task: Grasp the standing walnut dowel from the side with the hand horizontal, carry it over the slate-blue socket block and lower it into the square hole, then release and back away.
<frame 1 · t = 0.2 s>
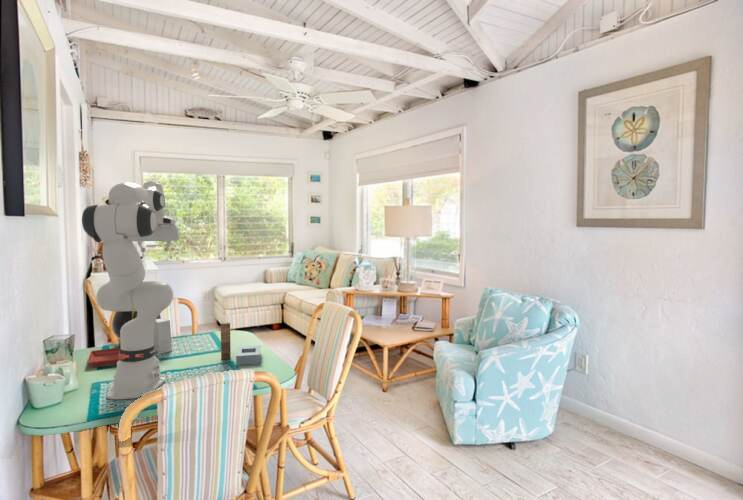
hand: (154, 251, 199), 48 cm above the table, tool pointing down, fingers open, 8 cm apart
skincare box: (162, 351, 213), on the table
amphora vase: (137, 344, 223), on the table
plant saucer: (113, 361, 199), on the table
socket block: (248, 359, 202), on the table
walnut dowel: (225, 358, 203), on the table
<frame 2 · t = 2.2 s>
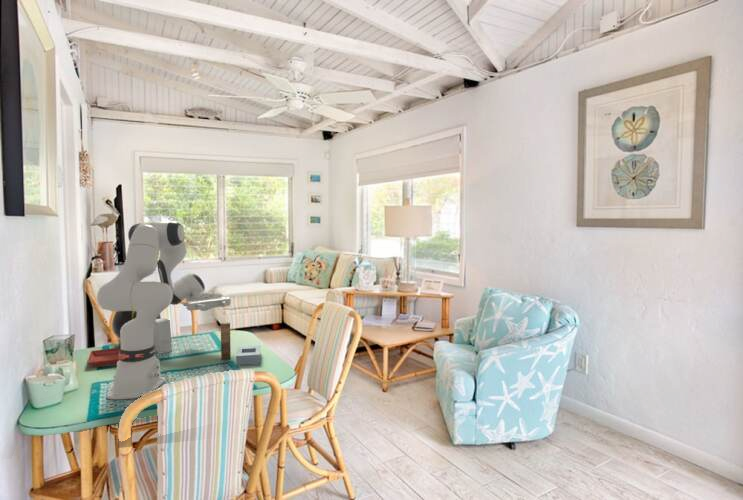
hand: (214, 306, 210), 22 cm above the table, tool horizontal, fingers open, 8 cm apart
nothing on the table moved.
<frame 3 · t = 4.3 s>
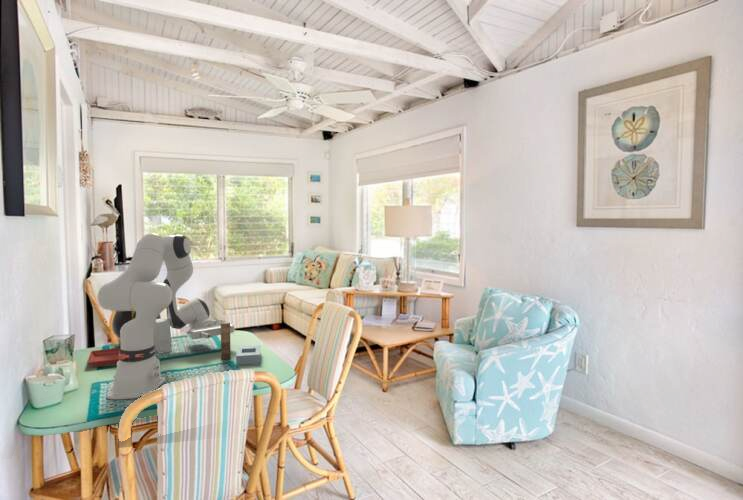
hand: (218, 334, 208), 9 cm above the table, tool horizontal, fingers open, 8 cm apart
nothing on the table moved.
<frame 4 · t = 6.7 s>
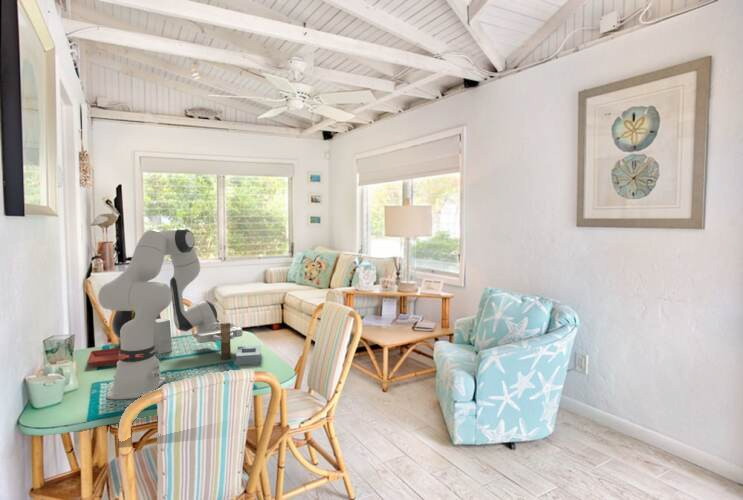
hand: (226, 338, 201), 10 cm above the table, tool horizontal, fingers closed on walnut dowel, 4 cm apart
walnut dowel: (225, 358, 203), on the table, touching gripper
everything else where it was.
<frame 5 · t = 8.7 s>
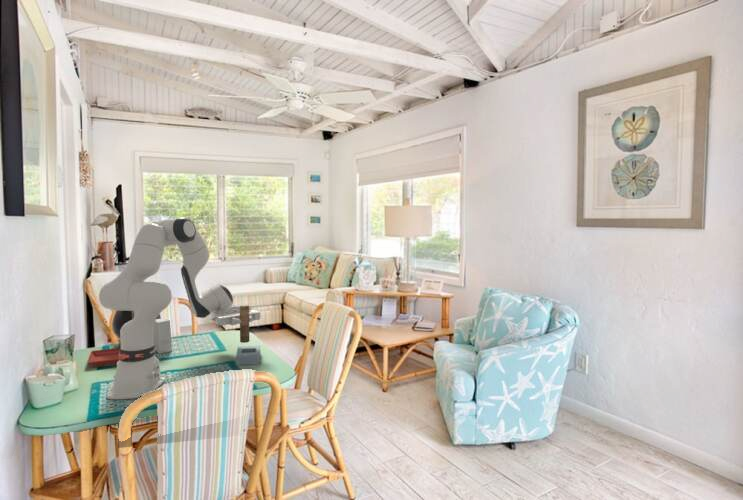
hand: (245, 320, 200), 18 cm above the table, tool horizontal, fingers closed on walnut dowel, 4 cm apart
walnut dowel: (244, 341, 202), point 8 cm above the table, touching gripper
everything else where it was.
when the fingers open (11 cm above the table, at t = 10.8 s): walnut dowel drops 2 cm, resting in socket block.
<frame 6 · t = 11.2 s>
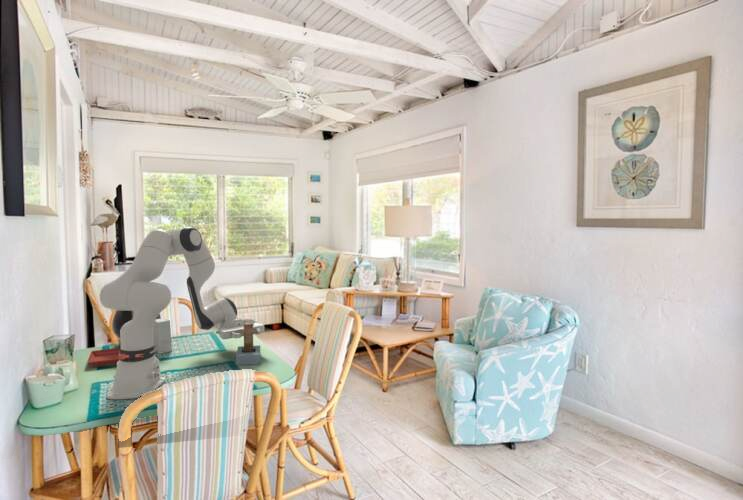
hand: (249, 334, 200), 11 cm above the table, tool horizontal, fingers open, 8 cm apart
walnut dowel: (248, 359, 202), resting in socket block
everything else where it was.
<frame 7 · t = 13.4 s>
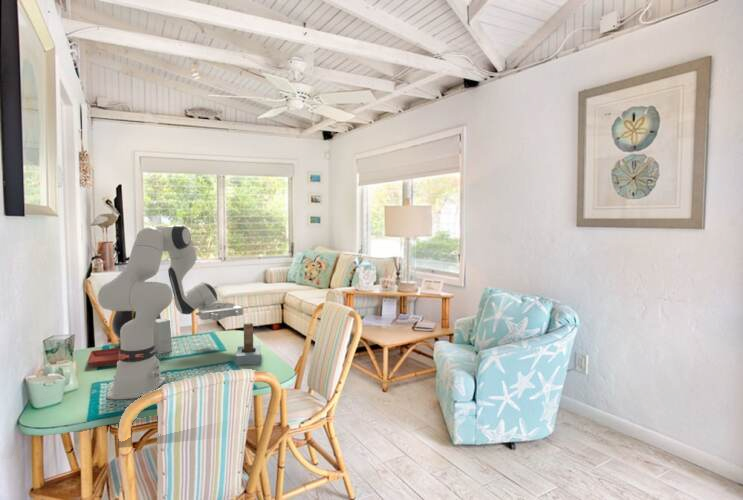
hand: (227, 315, 209), 18 cm above the table, tool horizontal, fingers open, 8 cm apart
nothing on the table moved.
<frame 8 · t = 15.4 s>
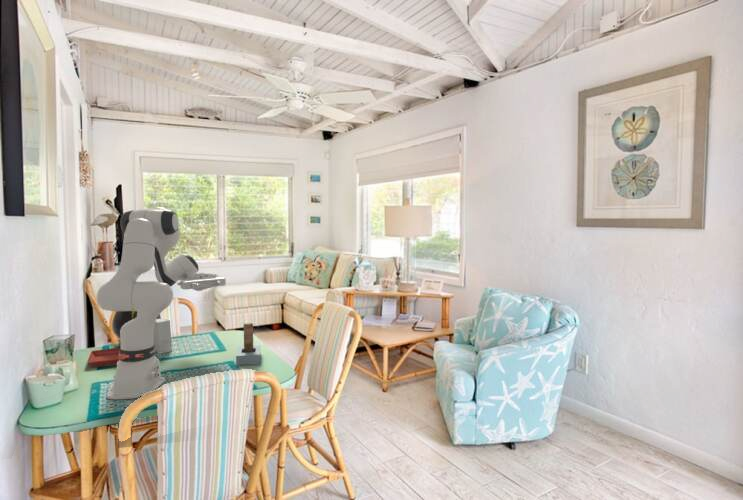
hand: (209, 285, 207), 32 cm above the table, tool horizontal, fingers open, 8 cm apart
nothing on the table moved.
at the end: walnut dowel 0.0 cm off-centre on the socket block, point 0.0 cm above the socket block's base; walnut dowel tilted 0°; the gripper is holding nothing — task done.
